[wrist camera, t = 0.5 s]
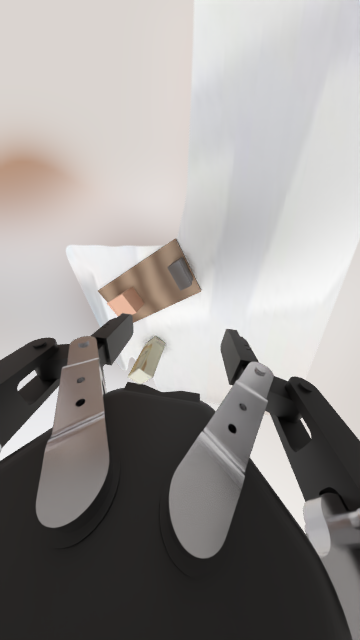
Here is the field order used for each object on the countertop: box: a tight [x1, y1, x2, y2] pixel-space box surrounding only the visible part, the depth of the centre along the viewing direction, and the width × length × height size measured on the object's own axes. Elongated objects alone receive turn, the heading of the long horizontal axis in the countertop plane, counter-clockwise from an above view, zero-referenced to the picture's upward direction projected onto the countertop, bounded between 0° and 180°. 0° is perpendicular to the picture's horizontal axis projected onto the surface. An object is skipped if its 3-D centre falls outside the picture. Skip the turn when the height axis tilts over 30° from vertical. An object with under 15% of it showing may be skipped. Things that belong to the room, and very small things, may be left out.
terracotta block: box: [107, 287, 144, 316], centre depth 33 cm, size 5×5×5 cm
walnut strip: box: [98, 239, 201, 323], centre depth 32 cm, size 24×12×6 cm, turn 120°
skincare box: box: [128, 336, 165, 384], centre depth 39 cm, size 6×4×12 cm
